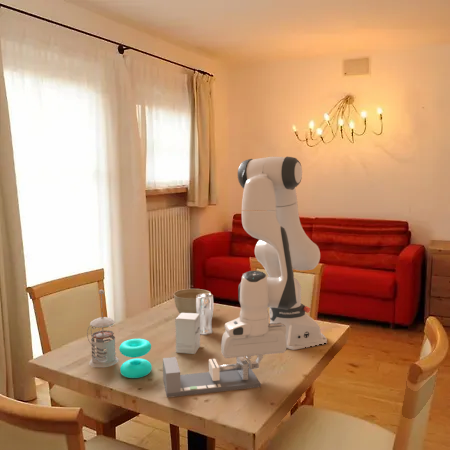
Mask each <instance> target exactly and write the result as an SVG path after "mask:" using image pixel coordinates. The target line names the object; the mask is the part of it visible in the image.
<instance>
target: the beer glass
mask: <svg viewBox="0 0 450 450" xmlns="http://www.w3.org/2000/svg"><path fill="white" fill-rule="evenodd" d="M196 313H198V314H200V336H207V335H212V334H213V332H214V331H213V327H212V320H213V315H214V295H213V294H212V293H211V294H208V293H202V294H198V295H196Z"/></svg>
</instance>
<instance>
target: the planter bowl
mask: <svg viewBox="0 0 450 450" xmlns="http://www.w3.org/2000/svg"><path fill="white" fill-rule="evenodd" d="M202 293H208V294H212V293H211V291H209V290H206V289H200V288H186V289H185V288H183V289H180V290H177V291H175V292H174V293H173V299H174V305H175V308H176V310H177V312H178V314H180V313H196V295H198V294H202Z"/></svg>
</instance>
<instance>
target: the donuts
mask: <svg viewBox="0 0 450 450" xmlns="http://www.w3.org/2000/svg"><path fill="white" fill-rule="evenodd" d="M118 349H119V352H120V354H121V355H123V356H124V357H126V358H131V359H127V360H125V361H124V362H123V363H122V364H121V365H120V369H119V371H120V374H121V375H122V377H125V378H129V379H139V378H143V377H146V376H147V375H148V374H150V373H151V372H152V369H153V367H152V363H151V362H150V361H149V360H147V359H146V358H140V357H142V356H146V355H147V354H149V353H150V351H151V350H152V344H151V342H150V341H149V340H147V339H145V338H131V339H127V340H124V341H123V342H121V344H120V346H119V348H118Z"/></svg>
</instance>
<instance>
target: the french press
mask: <svg viewBox="0 0 450 450" xmlns="http://www.w3.org/2000/svg"><path fill="white" fill-rule="evenodd" d="M104 293H105V291H104V290H103V289H99V290H98V294H99V295H100V303H101V307H103V298H102V297H103V294H104ZM103 316H104V315H103V313H101V317H98V318H97V317H96V318H94V319H93V320H91V321H90V323H89V326H88V327H87V330H86V336H87V340H88V342H89V344H90V345H91V359H90V361H89V362H88V364H89V366H91V367H92V368H108V367H112V366H115V365H116V364H118V362H119V358H118V357H117V356H116V337H115V335H114V334H115V332H114V331H112V330H104V328H108V327H112V326H113V325H115V323H116V321H115V320H114V319H113V318H111V317H106V316H104V317H103ZM96 328H102V330H97V331H94V332H93V333H92V329H93V330H95V329H96ZM89 329H90V336H91V341H90V339H89Z"/></svg>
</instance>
